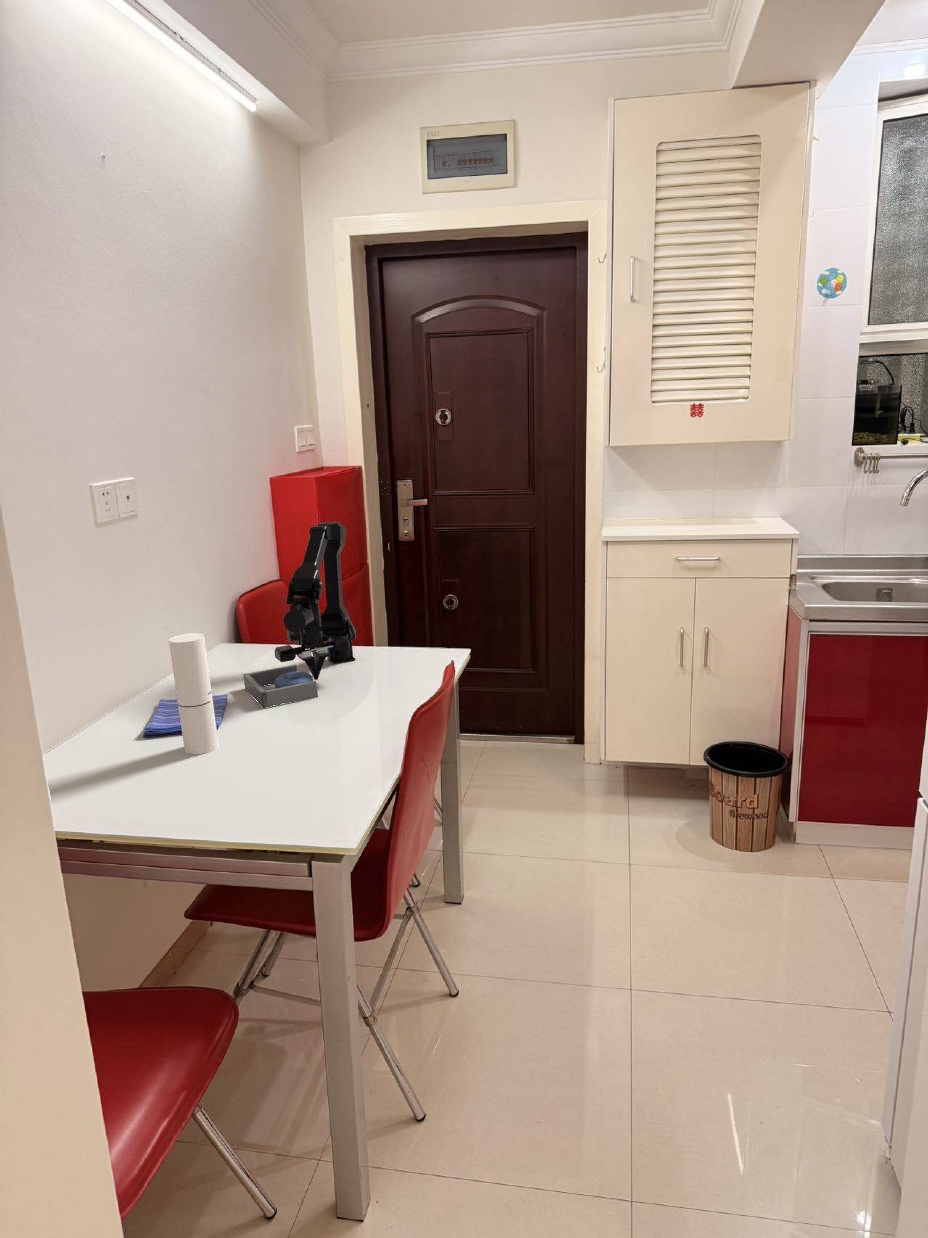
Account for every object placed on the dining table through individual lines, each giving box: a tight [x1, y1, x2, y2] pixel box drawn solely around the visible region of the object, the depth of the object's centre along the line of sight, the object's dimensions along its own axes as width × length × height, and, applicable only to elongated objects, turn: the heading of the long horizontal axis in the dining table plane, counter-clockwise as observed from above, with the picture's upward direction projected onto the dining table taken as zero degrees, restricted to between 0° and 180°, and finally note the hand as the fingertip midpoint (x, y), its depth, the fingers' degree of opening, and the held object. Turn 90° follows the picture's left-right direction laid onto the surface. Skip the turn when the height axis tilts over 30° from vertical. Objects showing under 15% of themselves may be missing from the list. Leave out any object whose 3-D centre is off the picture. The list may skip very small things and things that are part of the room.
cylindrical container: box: [168, 632, 220, 755], centre depth 181 cm, size 7×7×25 cm
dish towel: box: [142, 694, 229, 739], centre depth 204 cm, size 17×24×3 cm
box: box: [243, 664, 319, 709], centre depth 217 cm, size 14×18×4 cm
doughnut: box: [274, 670, 314, 689], centre depth 219 cm, size 10×10×5 cm
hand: (315, 679), depth 222 cm, fingers closed
